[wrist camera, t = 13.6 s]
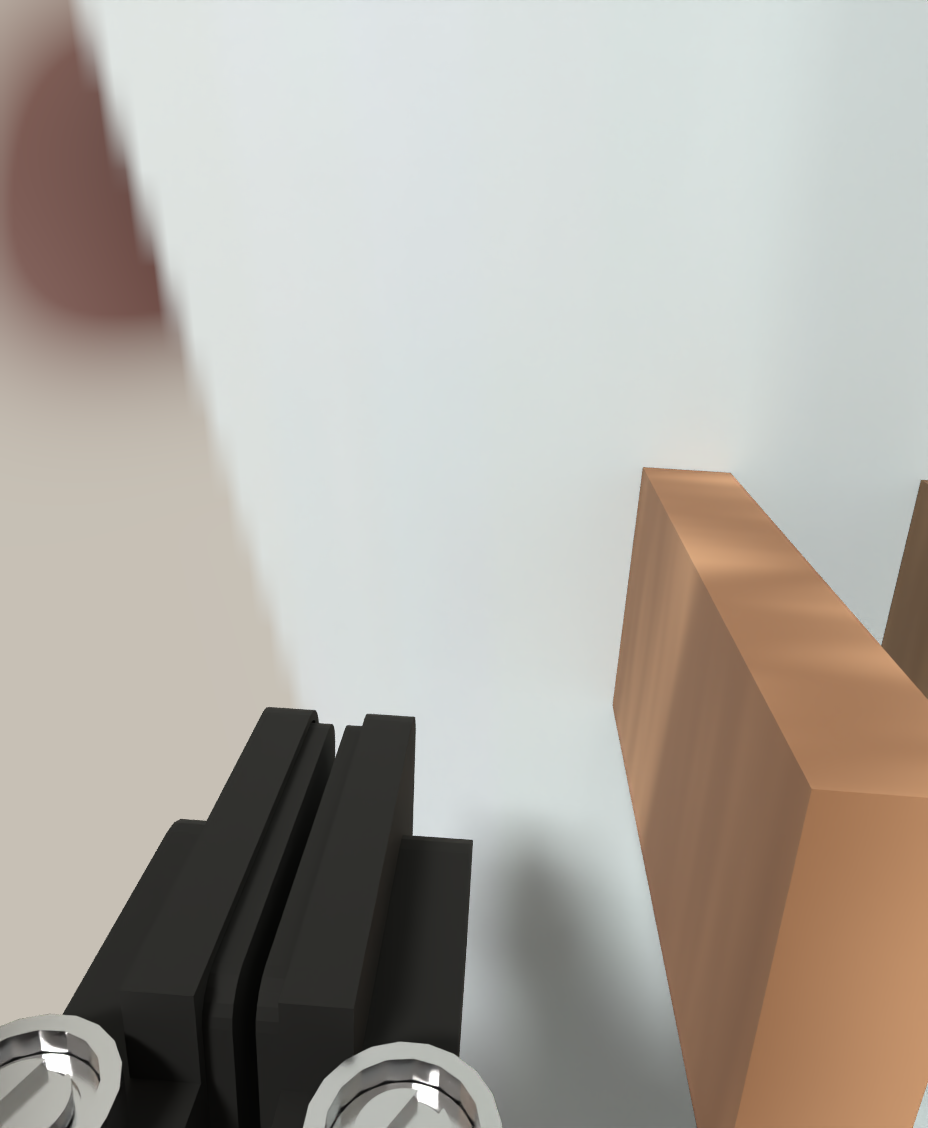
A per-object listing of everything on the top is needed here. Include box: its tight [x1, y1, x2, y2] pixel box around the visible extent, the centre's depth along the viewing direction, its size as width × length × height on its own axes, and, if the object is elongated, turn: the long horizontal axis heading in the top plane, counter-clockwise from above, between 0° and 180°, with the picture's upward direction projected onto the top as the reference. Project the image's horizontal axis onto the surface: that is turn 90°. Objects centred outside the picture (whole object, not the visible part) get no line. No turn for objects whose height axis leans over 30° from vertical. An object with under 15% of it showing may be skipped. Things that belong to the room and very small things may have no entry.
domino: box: [613, 467, 928, 1128], centre depth 12 cm, size 2×5×10 cm, turn 177°
